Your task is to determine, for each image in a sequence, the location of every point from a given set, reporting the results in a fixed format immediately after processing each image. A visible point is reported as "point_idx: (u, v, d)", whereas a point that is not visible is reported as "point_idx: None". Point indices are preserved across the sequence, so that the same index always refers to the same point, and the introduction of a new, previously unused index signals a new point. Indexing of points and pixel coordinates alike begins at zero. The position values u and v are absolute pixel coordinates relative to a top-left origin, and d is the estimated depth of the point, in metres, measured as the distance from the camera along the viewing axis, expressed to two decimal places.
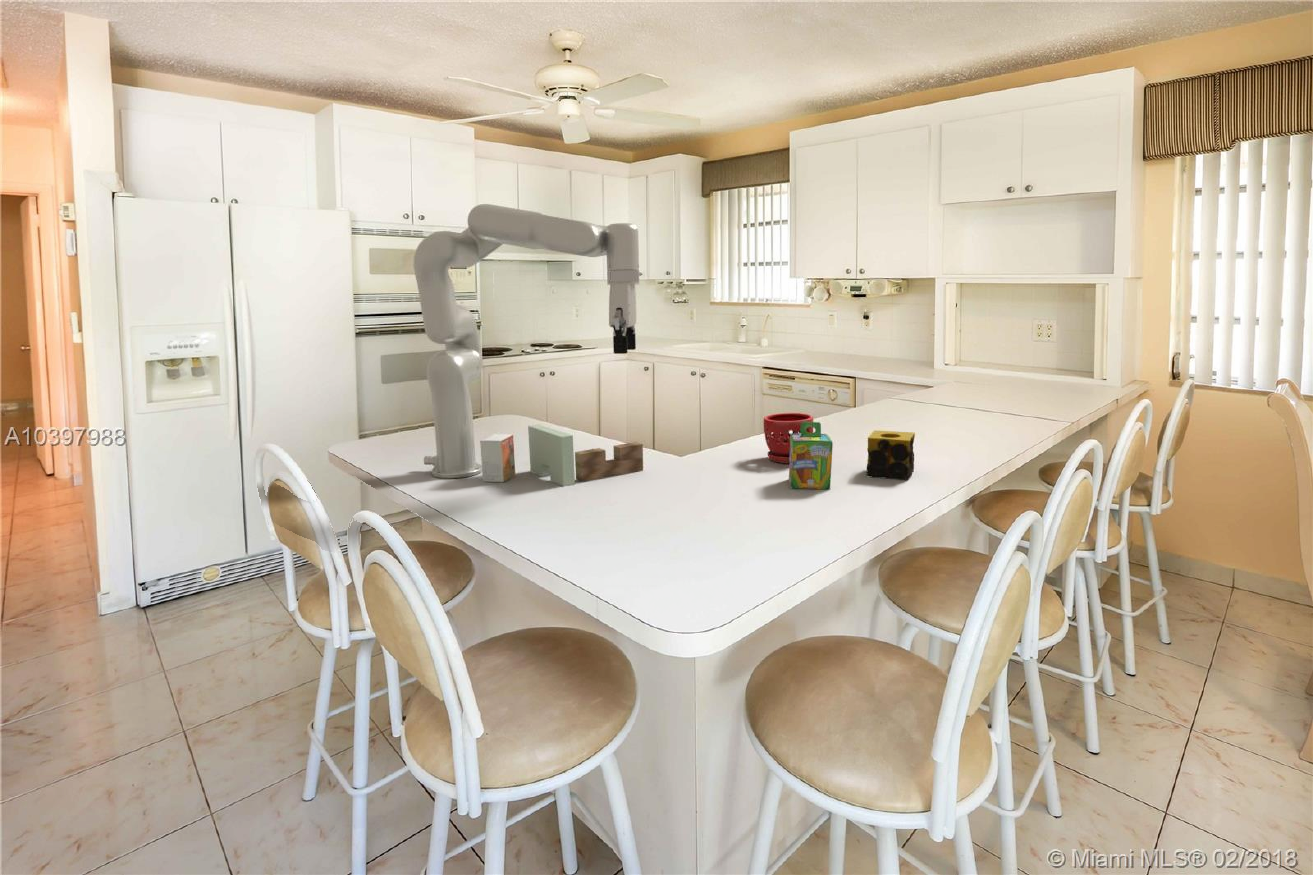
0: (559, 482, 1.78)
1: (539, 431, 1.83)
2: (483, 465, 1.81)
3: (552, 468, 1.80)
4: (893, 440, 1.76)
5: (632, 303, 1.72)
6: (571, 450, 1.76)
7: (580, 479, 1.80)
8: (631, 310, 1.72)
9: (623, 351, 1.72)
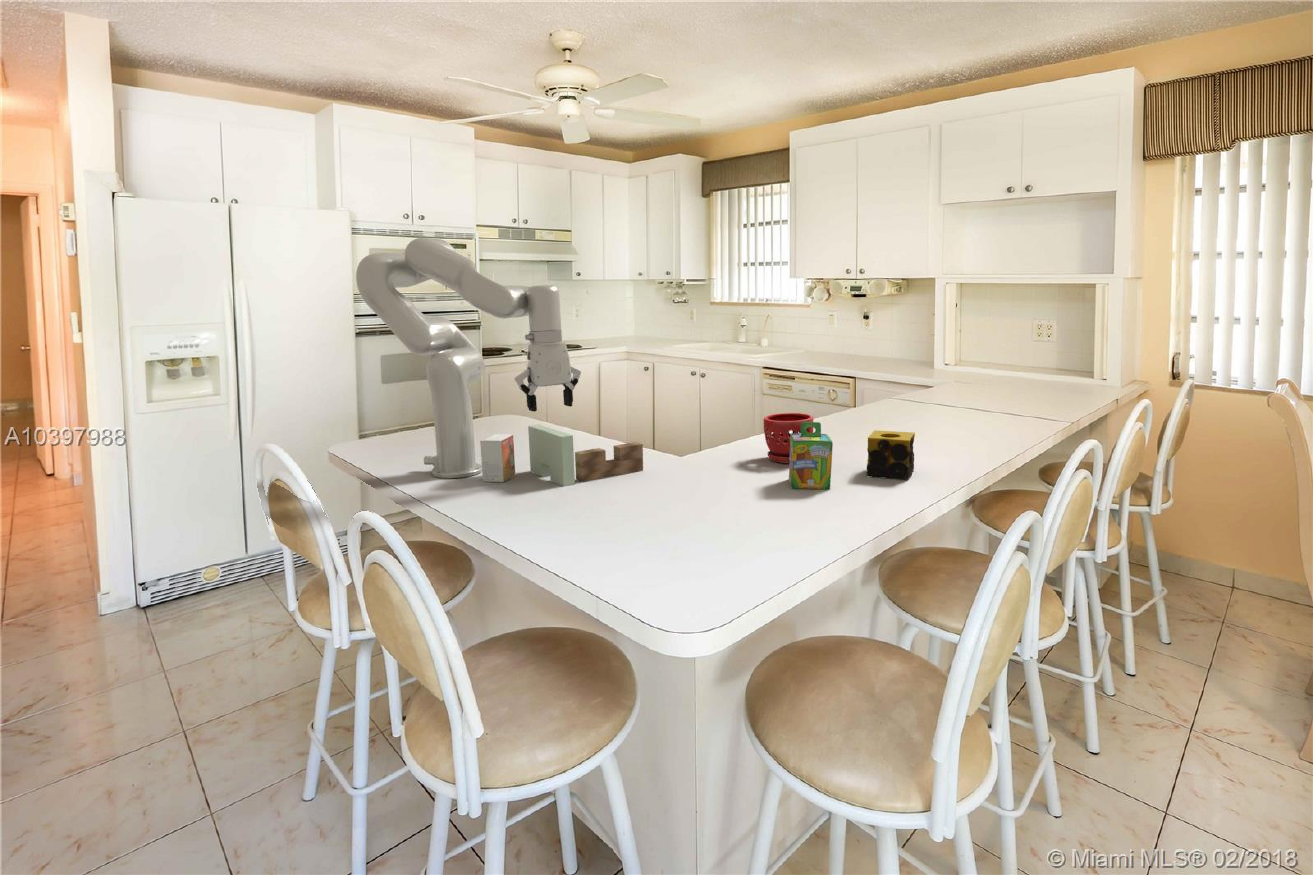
0: (559, 482, 1.78)
1: (539, 431, 1.83)
2: (483, 465, 1.81)
3: (552, 468, 1.80)
4: (893, 440, 1.76)
5: None
6: (571, 450, 1.76)
7: (580, 479, 1.80)
8: None
9: None
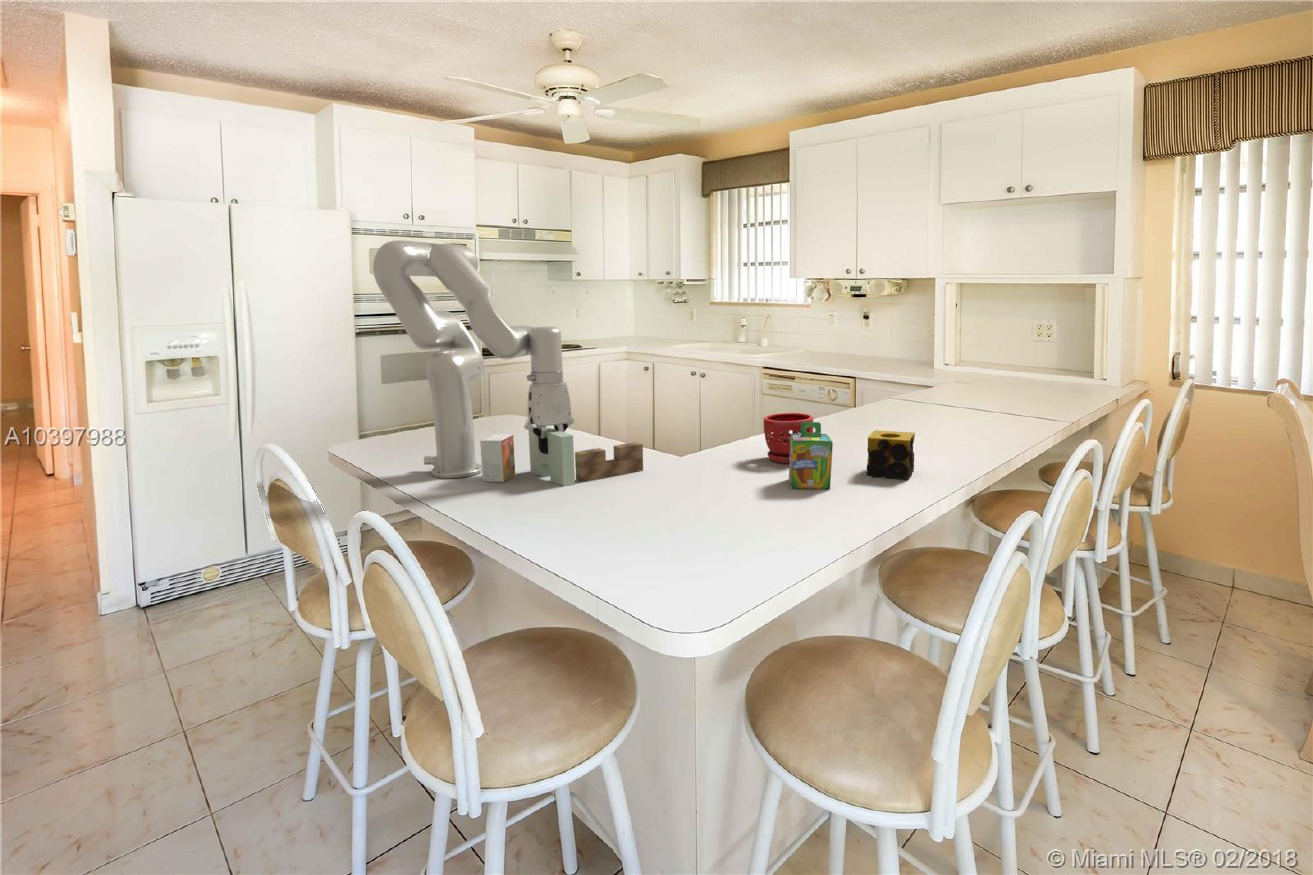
0: (559, 482, 1.78)
1: None
2: (483, 465, 1.81)
3: (552, 468, 1.80)
4: (893, 440, 1.76)
5: None
6: (571, 450, 1.76)
7: (580, 479, 1.80)
8: None
9: None
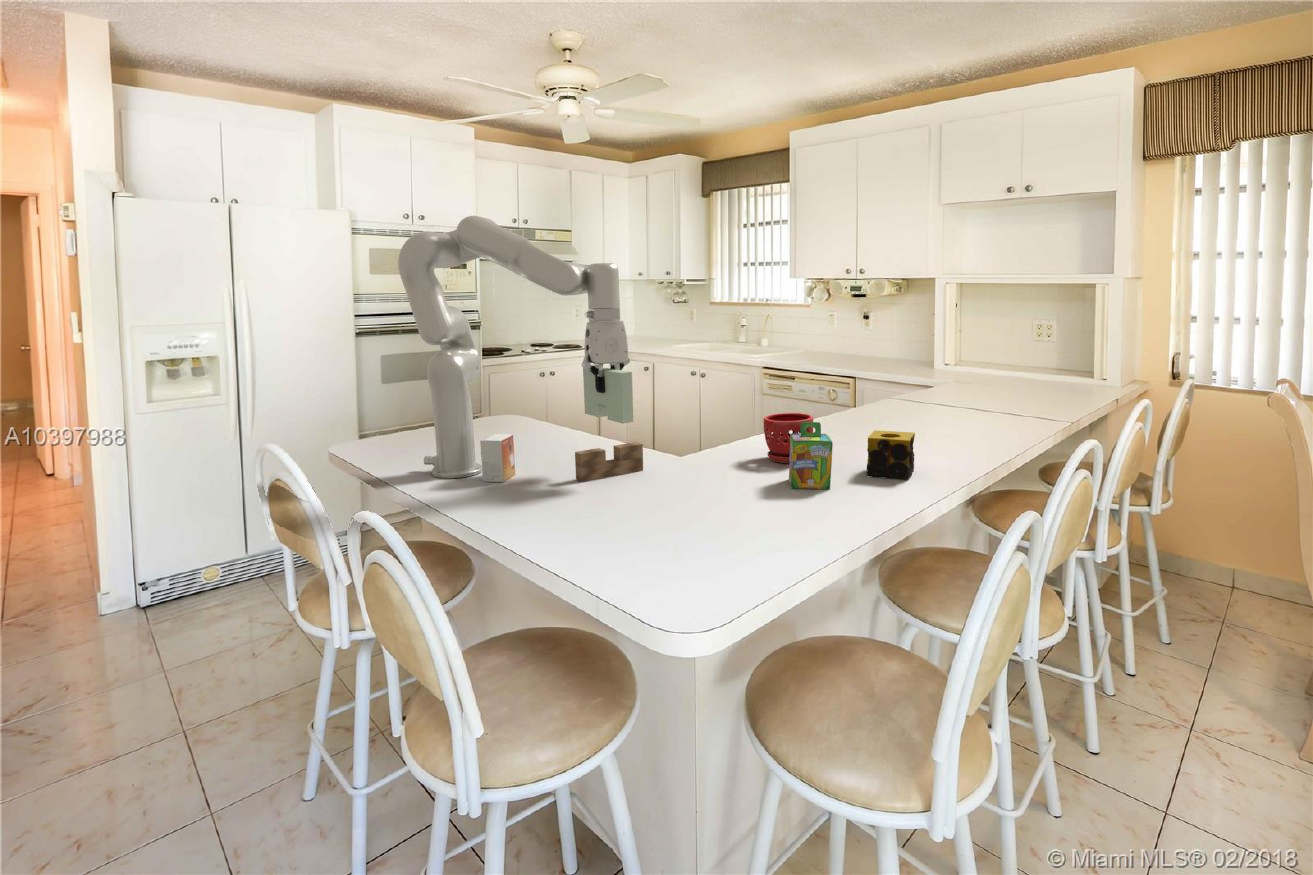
0: (617, 420, 1.76)
1: None
2: (483, 465, 1.81)
3: (610, 407, 1.78)
4: (893, 440, 1.76)
5: None
6: (630, 387, 1.74)
7: (580, 479, 1.80)
8: None
9: None
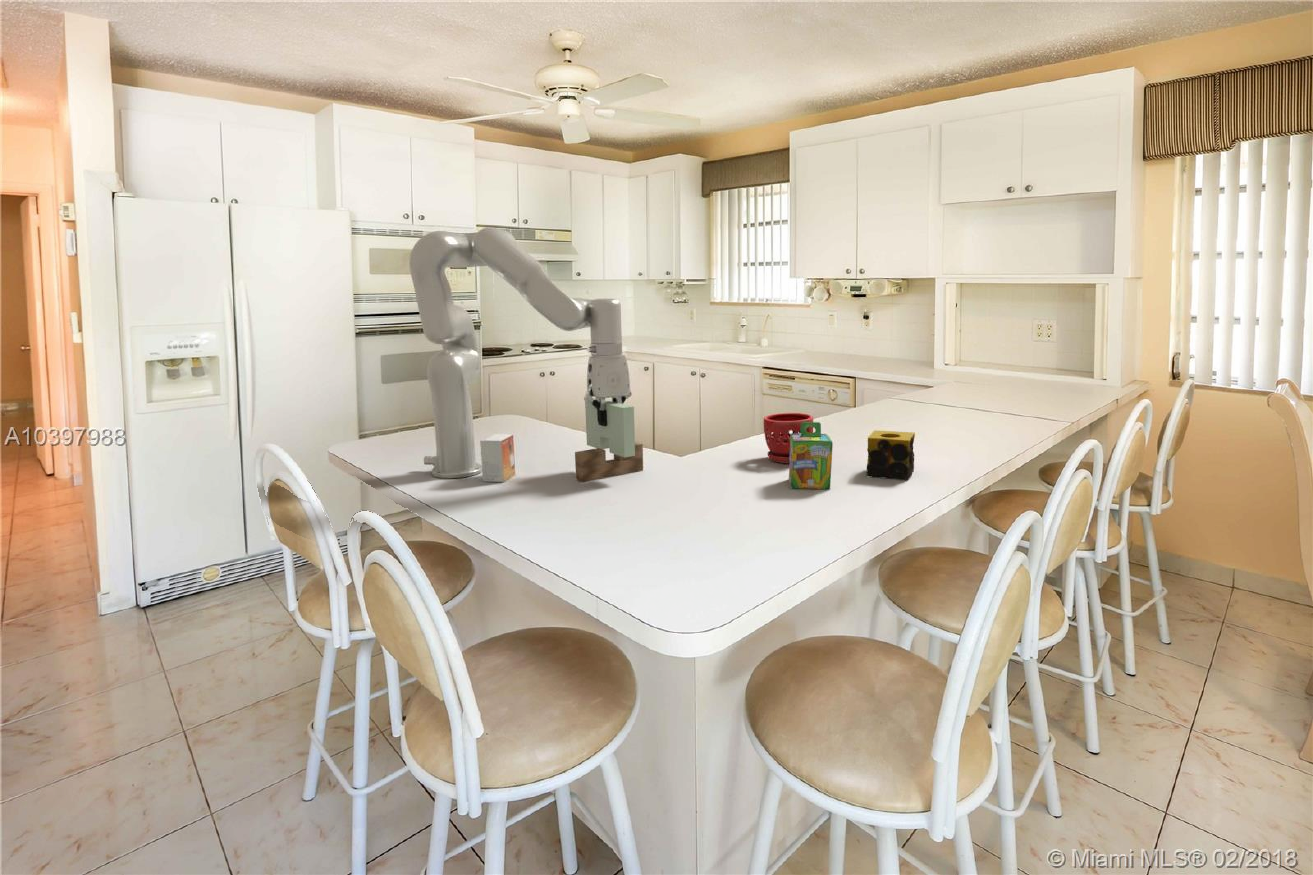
0: (619, 453, 1.78)
1: None
2: (483, 465, 1.81)
3: (612, 440, 1.80)
4: (893, 440, 1.76)
5: None
6: (632, 421, 1.76)
7: (580, 479, 1.80)
8: None
9: None
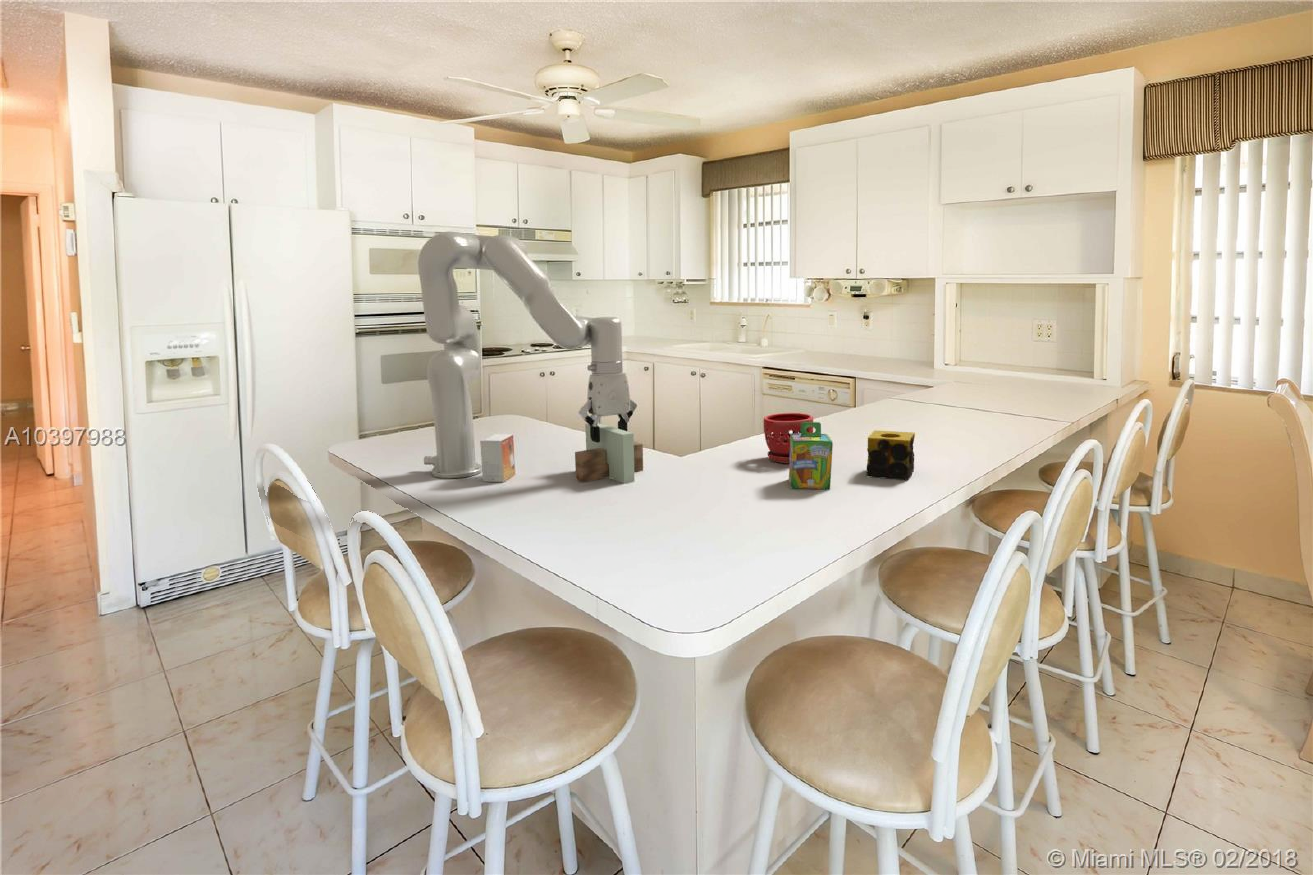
0: (619, 479, 1.79)
1: None
2: (483, 465, 1.81)
3: (611, 466, 1.82)
4: (893, 440, 1.76)
5: None
6: (631, 448, 1.77)
7: (580, 479, 1.80)
8: None
9: None
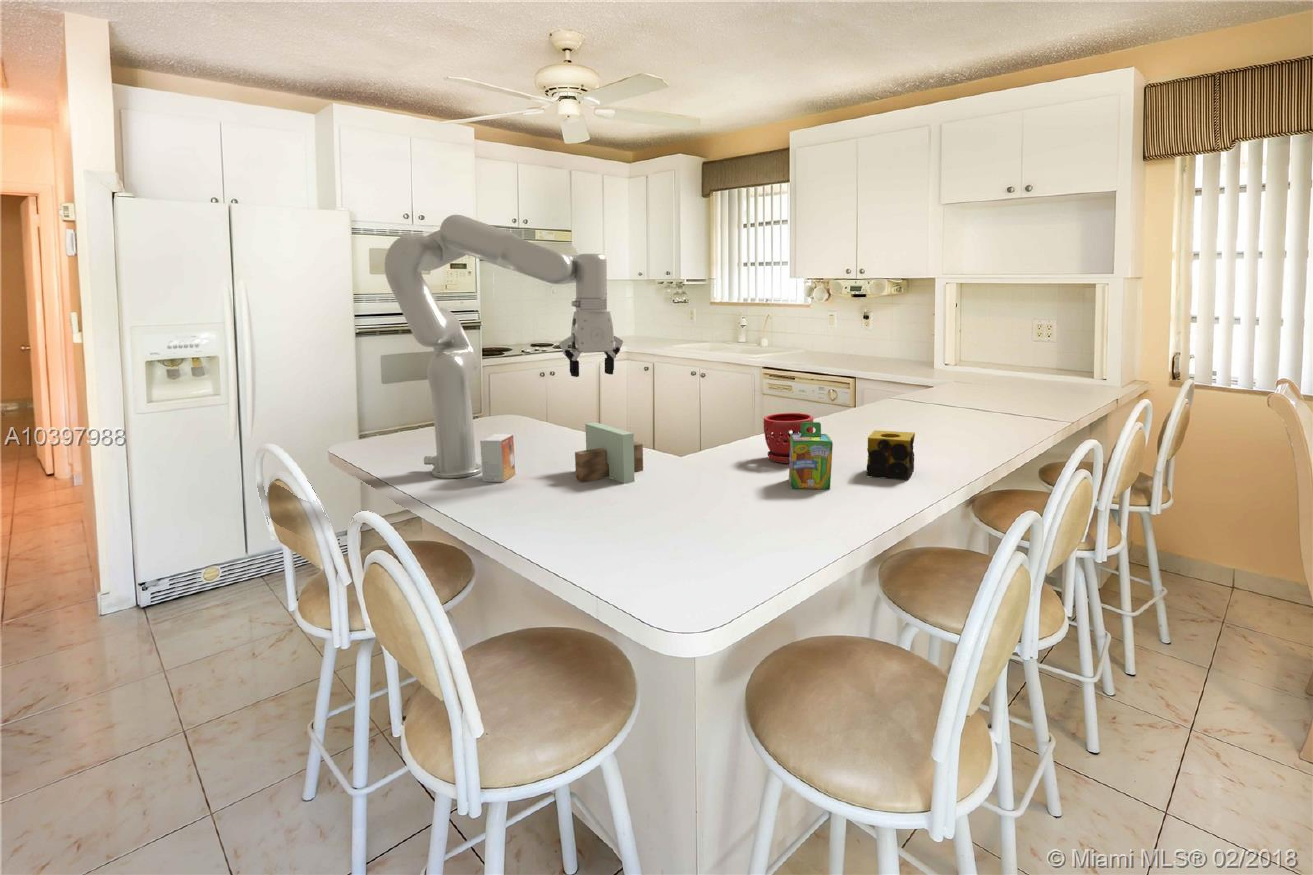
0: (619, 479, 1.79)
1: (598, 429, 1.85)
2: (483, 465, 1.81)
3: (611, 466, 1.82)
4: (893, 440, 1.76)
5: None
6: (631, 448, 1.77)
7: (580, 479, 1.80)
8: None
9: None
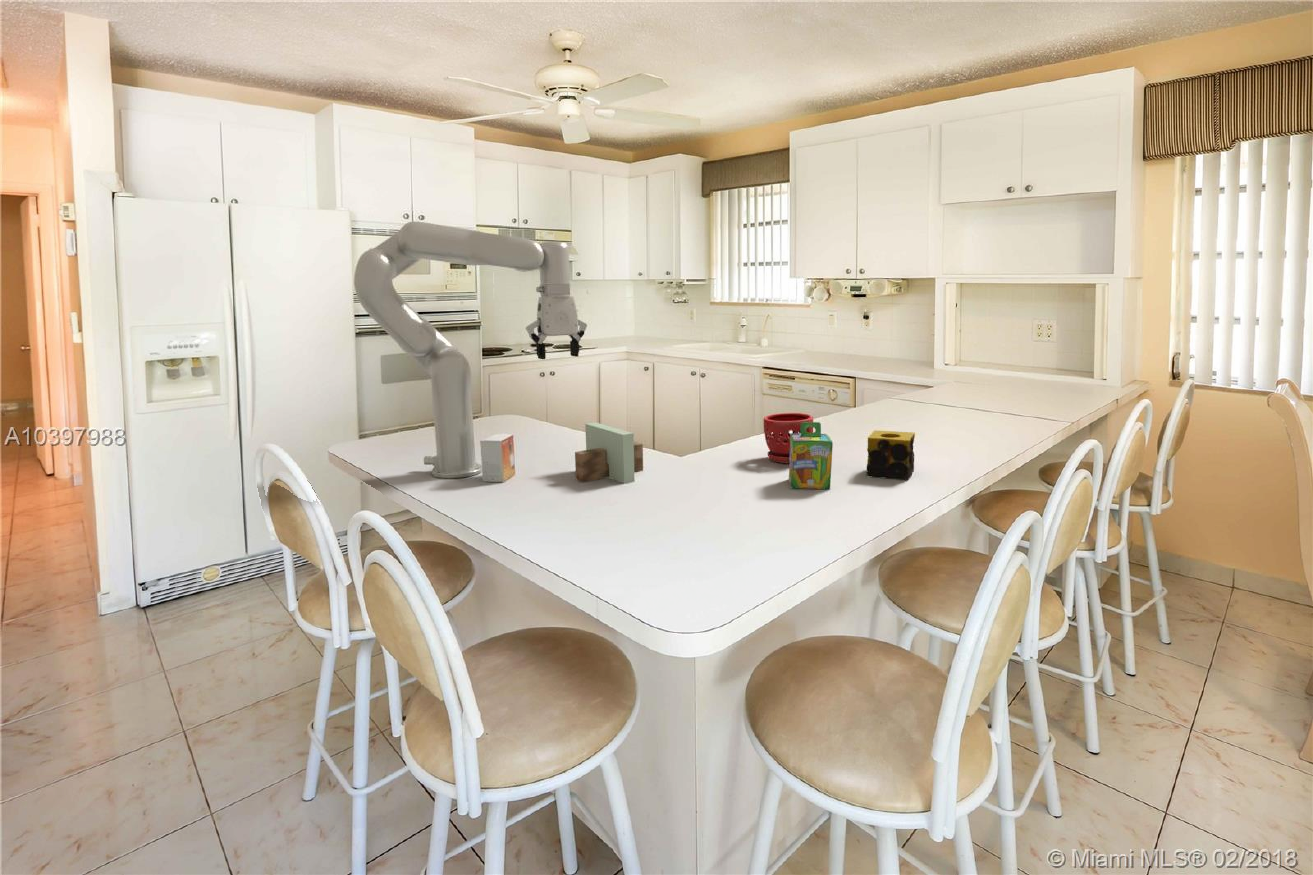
0: (619, 479, 1.79)
1: (598, 429, 1.85)
2: (483, 465, 1.81)
3: (611, 466, 1.82)
4: (893, 440, 1.76)
5: None
6: (631, 448, 1.77)
7: (580, 479, 1.80)
8: None
9: None
